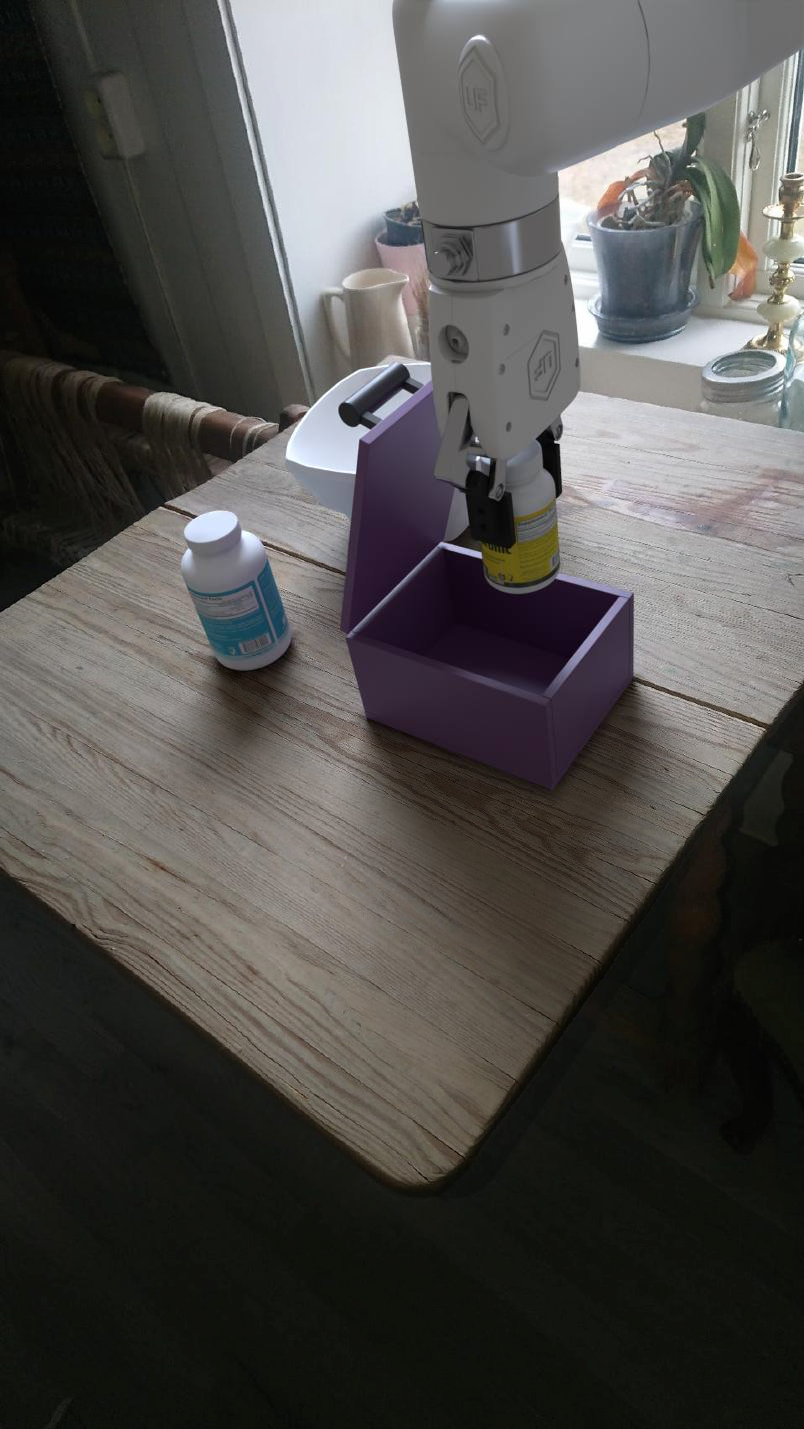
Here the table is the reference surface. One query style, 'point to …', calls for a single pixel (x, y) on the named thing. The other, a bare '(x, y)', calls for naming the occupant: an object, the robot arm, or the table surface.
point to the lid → (392, 490)
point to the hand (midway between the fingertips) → (517, 514)
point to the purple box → (495, 663)
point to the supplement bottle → (526, 527)
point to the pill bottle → (234, 592)
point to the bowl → (350, 447)
